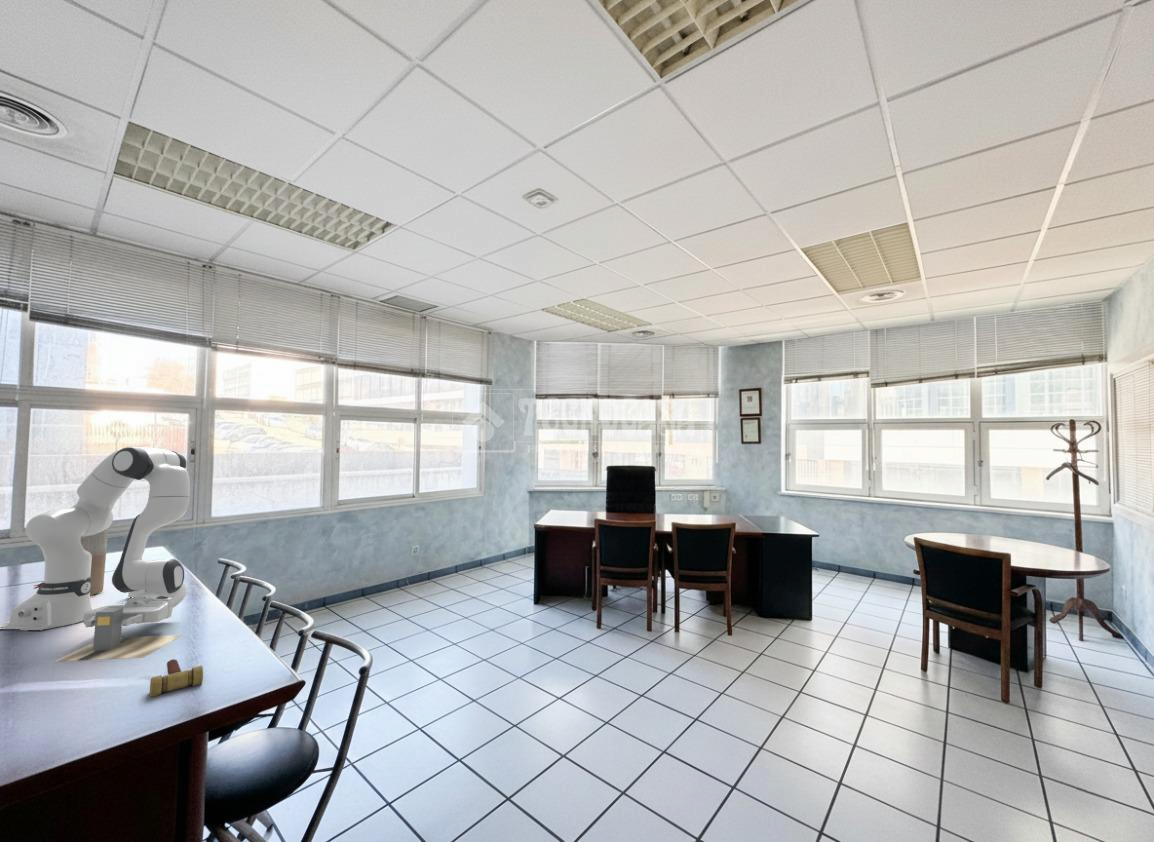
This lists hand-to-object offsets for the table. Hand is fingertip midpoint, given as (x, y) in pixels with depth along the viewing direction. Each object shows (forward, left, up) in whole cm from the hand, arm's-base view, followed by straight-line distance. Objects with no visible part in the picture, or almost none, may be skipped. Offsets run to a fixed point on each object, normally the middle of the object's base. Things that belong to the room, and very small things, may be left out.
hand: (106, 623), depth 137 cm
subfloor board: (+4, +1, -9) cm, 10 cm away
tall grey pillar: (0, +1, -7) cm, 7 cm away
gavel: (+29, -17, -9) cm, 35 cm away
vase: (-53, +63, -9) cm, 83 cm away
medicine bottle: (-29, +59, -9) cm, 66 cm away
